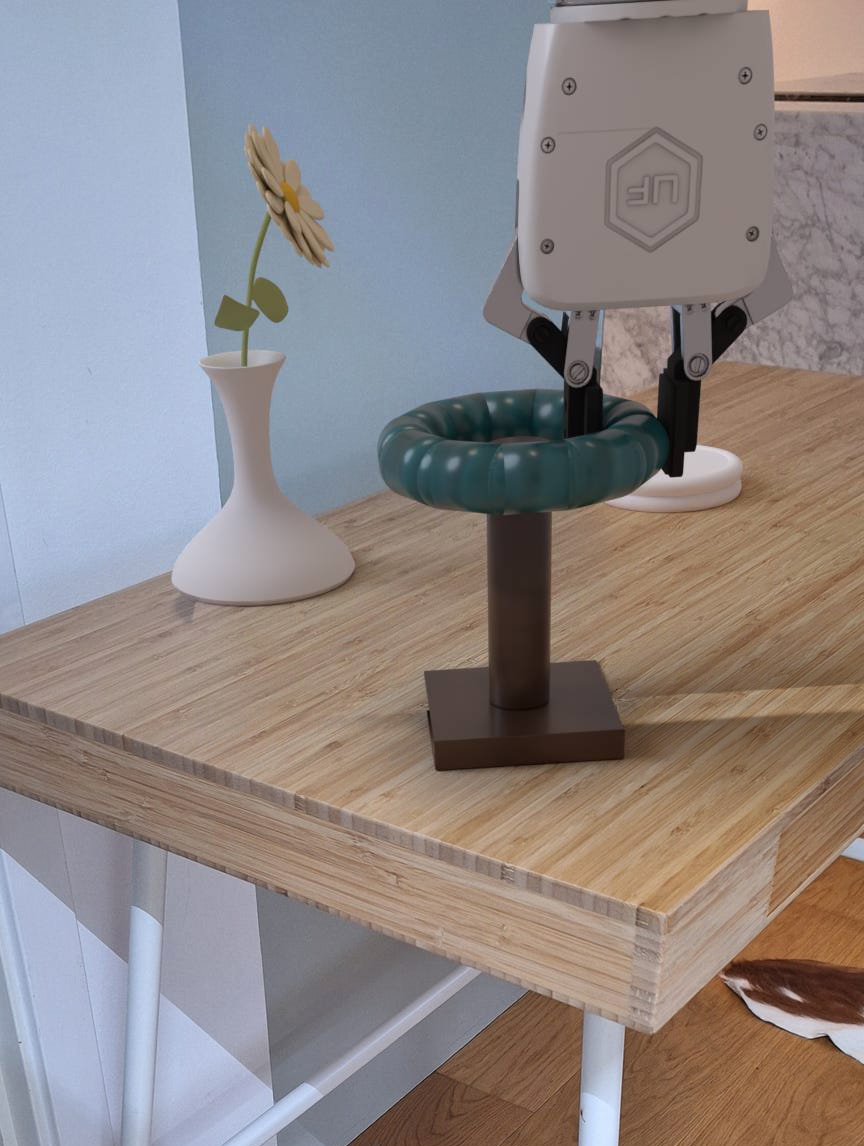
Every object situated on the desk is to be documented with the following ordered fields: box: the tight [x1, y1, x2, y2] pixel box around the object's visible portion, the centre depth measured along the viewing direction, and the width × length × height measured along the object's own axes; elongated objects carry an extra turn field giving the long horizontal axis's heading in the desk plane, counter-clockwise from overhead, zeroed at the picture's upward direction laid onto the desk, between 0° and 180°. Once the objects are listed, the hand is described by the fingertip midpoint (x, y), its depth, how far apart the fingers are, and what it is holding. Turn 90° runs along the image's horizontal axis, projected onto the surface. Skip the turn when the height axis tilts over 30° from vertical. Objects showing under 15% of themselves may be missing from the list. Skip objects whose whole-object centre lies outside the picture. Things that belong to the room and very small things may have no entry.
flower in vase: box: [170, 123, 356, 607], centre depth 85 cm, size 13×11×25 cm
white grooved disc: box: [603, 444, 744, 514], centre depth 101 cm, size 10×10×4 cm
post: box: [423, 436, 626, 771], centre depth 70 cm, size 9×9×14 cm
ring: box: [376, 388, 669, 515], centre depth 66 cm, size 13×13×3 cm
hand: (628, 468), depth 66 cm, fingers closed on ring, 3 cm apart
